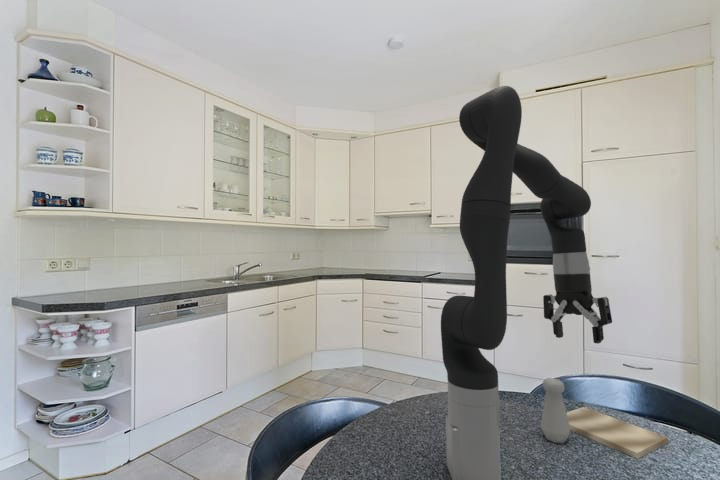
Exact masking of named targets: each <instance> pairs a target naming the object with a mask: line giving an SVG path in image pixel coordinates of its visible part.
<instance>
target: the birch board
mask: <svg viewBox="0 0 720 480" xmlns="http://www.w3.org/2000/svg"><path fill="white" fill-rule="evenodd" d="M566 414H567V418H568V422H569V427H570V431H571V432H575V433H576V434H579V435H581V436H584V437H585V438H588V439H590V440H593V441H595V442H596V443H600V444H601V445H605V446H606V447H609V448H612V449H614V450H616V451H618V452H620V453H623V454H625V455H628V456H630V457H632V458H634V459H637V460H638V459H641V458H642V457H644V456H646V455H648V454H650V453H652V452H654V451H656V450H657V449H659V448H660V449H661V448H662V447H663V446H665V445H668V444H669V438H668V437H667V436H666V435H662V434H659V433H657V432H654V431H651V430H649V429H646V428H643V427H640V426H637V425H635V424H632V423H630V422H626V421H623V420H621V419H619V418H614V417H613V416H609V415H606V414H605V413H601V412H598V411H595V410H594V409H593V410H592V409H590V408H588V407H585V406H582V407H578V408H576V409H573V410H570V411H566Z"/></svg>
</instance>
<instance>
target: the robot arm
mask: <svg viewBox="0 0 720 480" xmlns="http://www.w3.org/2000/svg"><path fill="white" fill-rule="evenodd" d="M522 108H523V107H522V102H521V98H520V96H519V94H518V92H517V90H516V89H515V88H514V87H512V86H509V85H501V86H498V87H495V88H493V89H491V90H489V91H487V92H485V93H483V94H481V95H479V96H477V97H476V98H474V99H472V100H469V101H468V102H467V103H466V104H464V105H463V106H462V108H461V109H460V112H459V126H460V128H461V130H462V132H463V134H464V135H465V136H466V138H467V139H468V140H469V141H470V142H471V143H473V144H475V146H477V147H479V148H480V149H482V150H483V151H484V153H483V156H482V157H481V161H480V162H479V164H478V166H477V167H476V170H474V173H473V175H472V176H471V178H470V179H469V182H468V183H467V186H466V188H465V189H464V192H463V194H462V199H461V205H460V206H461V207H460V214H459V215H460V216H459V232H460V235H461V238H462V241H463V244H464V246H465V248H466V251H467V252H468V255H469V257H470V259H471V262H472V264H473V265H472V266H473V269H474V293H473V296H468V295H454V296H452V297H450V298H448V299H447V300H446V302H445V303H444V306H443V308H442V311H441V316H440V336H441V348H442V349H441V351H442V352H441V353H442V361H443V366H444V367H445V370H446V375H447V376H446V377H447V415H445V438H446V439H445V444H446V445H445V449H446V454H445V455H446V466H447V470H448V472H449V475H450V478H451V480H502V475H501V472H502V467H501V438H500V435H501V434H500V405H499V400H500V399H499V393H500V392H499V373H498V370H497V367H496V366H495V365H494V364H493V363H491V362H490V361H489V360H488V359H487V358H486V357H485V356H484V355H483V353H482V352H481V350H487V351H491V350H494V349H495V350H496V349H497V348H498V347H499V346H501V345H500V344H502V343H503V340H504V337H505V334H506V332H507V324H508V323H507V321H508V304H507V303H508V300H507V298H508V297H507V257H508V255H507V254H508V253H507V252H508V237H509V228H510V220H511V219H510V217H511V208H512V207H511V205H512V203H511V201H512V184H513V176H514V175H515V176H516V177H517V178H518V179H519V180H520V181H521V182H522V183H523V184H524V186H525V187H527V188H528V189H529V191H530V192H531V193H532V194H533V195H534V196H535V197H537V198H538V199H541V200H540V205H539V206H540V212H541V213H540V214H541V215H542V218H543V220H544V222H545V224H546V227H547V230H548V233H549V236H550V239H551V245H552V246H551V248H552V271H553V280H554V290H555V295H553V294H551V293H550V294H545V295H543V296H542V297H543V317H544V319H546V320H549V321H551V323H552V328H553V329H552V330H553V335H554V336H555V337H556V338H558V339H560V338H563V337H564V331H563V330H564V327H563V321H562V319H563V318H564V316H565V315H576V316H583V317H584V318H585V319H587V320H588V321H589V322H590V324H592V326H591V329H592V338H593V339H592V340H593V341H592V342H593V343H594V344H600V343H602V341H604V340H605V339H604V338H605V337H604V326H606V325H610V324H612V323H613V319H612V312H611V307H610V301H609V300H610V299H609V298H608V297H607V296H602V297H594V296H593V294H592V289H593V287H592V281H591V272H590V271H591V266H590V260H589V258H588V254H587V253H588V252H587V246H586V245H587V243H586V236H585V232H584V229H582V228H577V227H568V226H567V225H566V224H565V222H564V220H565V219H574V218H579V217H584V216H585V215H587V214H588V213H589V212H590V210H591V206H592V201H591V197H590V196H589V193H588V192H587V191H586V189H584V188H583V187H582V186H581V185H579V184H577V183H576V182H574V181H573V180H571V179H569V178H568V177H567V176H563V174H561V173H560V172H559V171H558V169H557V168H556V167H555V166H554V164H553V163H552V162H551V161H550V160H549V159H548V158H547V157H546V156H544V155H543V154H541V153H540V152H537V151H535V150H534V149H531V148H528V147H527V146H524V145H522V144H519V143H518V142H519V137H520V132H521V130H520V129H521V126H522V116H523V115H522V113H523V112H522ZM555 303H557V305H558V307H557V308H556V310H555V308H554V304H555ZM594 304H595V306H596V307H597V308H598V312H599V315H598V312H596V311H595V309H594V308H593V307H592V306H593V305H594ZM554 310H555V311H554ZM480 349H481V350H480Z"/></svg>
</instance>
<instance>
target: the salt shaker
mask: <svg viewBox="0 0 720 480" xmlns="http://www.w3.org/2000/svg"><path fill="white" fill-rule="evenodd" d="M542 387H543V388H542V389H544V390H545V397H544V404H543V410H542V416H541V421H540V428H541V431H542V432H543V434H544V436H545V440H548V441H550V442H552V443H553V444H554V443H555V444H565V442H567V440H568V437H569V436H570V433H571V430H570V427H569V422H568V418H567V414H566V413H567V410H566V406H565V401H564V397H563V393H565V388H566V387H565V383H564V382H563V381H562V380H560V379H558V378H555V377H554V378H553V377H548V378H547V377H546V378H545V379H544V380H542Z"/></svg>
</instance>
